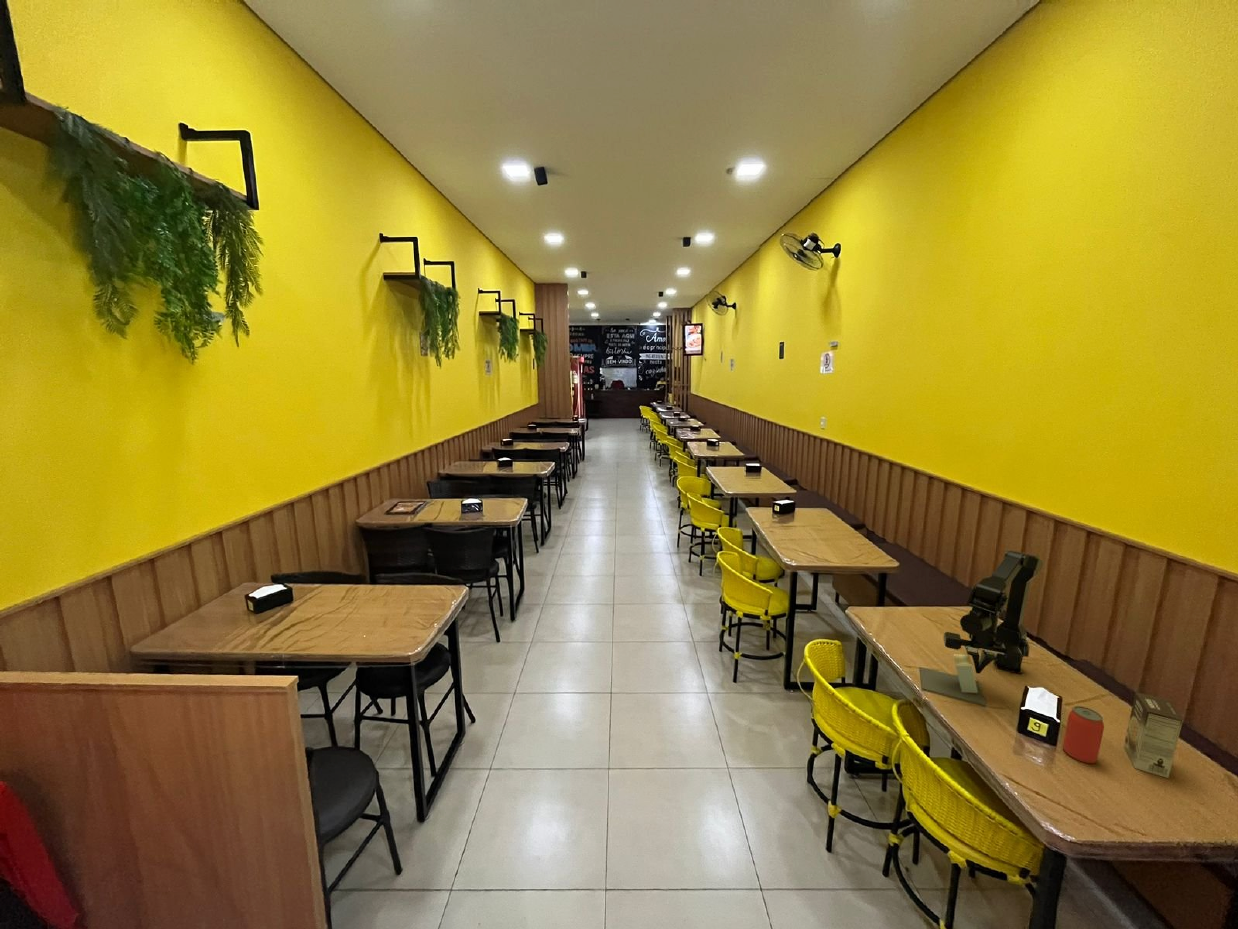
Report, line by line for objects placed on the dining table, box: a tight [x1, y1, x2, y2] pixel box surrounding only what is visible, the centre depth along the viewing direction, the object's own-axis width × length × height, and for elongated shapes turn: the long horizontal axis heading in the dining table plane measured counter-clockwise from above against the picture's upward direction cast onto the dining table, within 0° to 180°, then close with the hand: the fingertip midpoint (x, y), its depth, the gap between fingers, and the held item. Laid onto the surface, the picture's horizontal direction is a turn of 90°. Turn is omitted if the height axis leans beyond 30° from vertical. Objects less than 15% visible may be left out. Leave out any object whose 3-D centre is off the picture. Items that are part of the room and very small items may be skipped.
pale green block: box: [953, 653, 978, 693], centre depth 152 cm, size 4×6×9 cm, turn 152°
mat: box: [919, 666, 987, 707], centre depth 154 cm, size 16×13×1 cm
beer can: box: [1062, 705, 1105, 764], centre depth 126 cm, size 7×7×12 cm
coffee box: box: [1123, 692, 1184, 779], centre depth 123 cm, size 9×6×16 cm
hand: (977, 672), depth 150 cm, fingers closed
